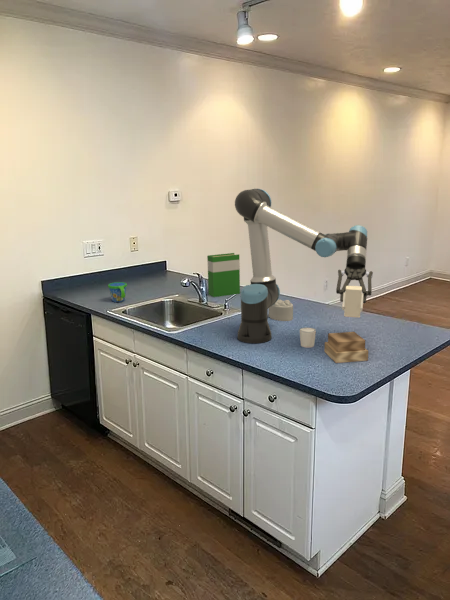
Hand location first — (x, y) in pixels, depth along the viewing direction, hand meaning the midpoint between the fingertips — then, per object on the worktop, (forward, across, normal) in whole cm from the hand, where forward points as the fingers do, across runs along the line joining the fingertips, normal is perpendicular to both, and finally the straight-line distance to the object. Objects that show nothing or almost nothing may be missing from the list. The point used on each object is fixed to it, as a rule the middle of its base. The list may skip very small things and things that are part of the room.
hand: (352, 309), depth 191 cm
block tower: (+13, +2, -15) cm, 20 cm away
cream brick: (0, 0, -5) cm, 5 cm away
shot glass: (+7, +18, -22) cm, 29 cm away
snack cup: (-28, +134, -60) cm, 150 cm away
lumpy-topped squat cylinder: (-20, +36, -49) cm, 64 cm away
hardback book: (-49, +78, -80) cm, 122 cm away
